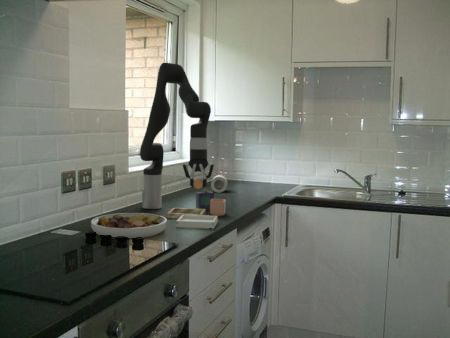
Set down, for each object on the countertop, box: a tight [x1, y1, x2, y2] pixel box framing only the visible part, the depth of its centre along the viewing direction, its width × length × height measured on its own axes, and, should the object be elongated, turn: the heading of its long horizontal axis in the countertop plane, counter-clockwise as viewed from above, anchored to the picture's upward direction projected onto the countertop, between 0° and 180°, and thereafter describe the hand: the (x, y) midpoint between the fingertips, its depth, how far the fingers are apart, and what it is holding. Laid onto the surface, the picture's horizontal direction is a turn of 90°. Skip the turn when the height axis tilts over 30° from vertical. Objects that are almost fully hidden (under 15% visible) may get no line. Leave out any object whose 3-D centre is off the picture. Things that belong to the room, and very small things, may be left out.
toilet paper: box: [210, 174, 228, 194], centre depth 312 cm, size 10×10×10 cm
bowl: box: [90, 212, 168, 239], centre depth 199 cm, size 30×30×8 cm
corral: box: [166, 207, 207, 219], centre depth 233 cm, size 16×14×2 cm
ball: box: [193, 177, 203, 190], centre depth 214 cm, size 4×4×4 cm
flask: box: [195, 188, 215, 211], centre depth 249 cm, size 9×3×11 cm, turn 109°
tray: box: [175, 214, 219, 230], centre depth 214 cm, size 16×14×3 cm
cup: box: [209, 198, 226, 217], centre depth 237 cm, size 7×7×7 cm
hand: (198, 187), depth 214 cm, fingers closed on ball, 4 cm apart
